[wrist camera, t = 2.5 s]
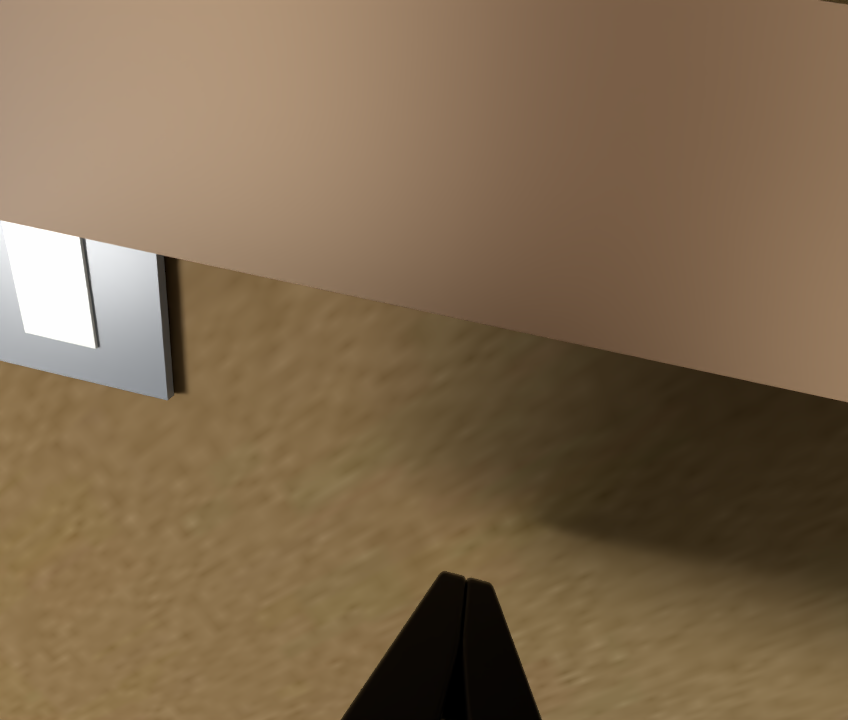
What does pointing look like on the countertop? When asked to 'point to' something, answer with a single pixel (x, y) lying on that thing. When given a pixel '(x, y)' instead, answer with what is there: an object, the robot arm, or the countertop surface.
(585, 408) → the countertop surface
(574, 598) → the countertop surface
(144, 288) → the label tile
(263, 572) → the countertop surface
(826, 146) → the bar
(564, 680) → the countertop surface
